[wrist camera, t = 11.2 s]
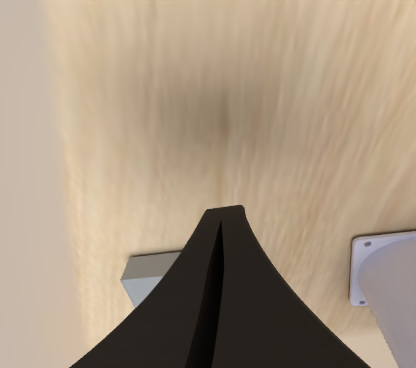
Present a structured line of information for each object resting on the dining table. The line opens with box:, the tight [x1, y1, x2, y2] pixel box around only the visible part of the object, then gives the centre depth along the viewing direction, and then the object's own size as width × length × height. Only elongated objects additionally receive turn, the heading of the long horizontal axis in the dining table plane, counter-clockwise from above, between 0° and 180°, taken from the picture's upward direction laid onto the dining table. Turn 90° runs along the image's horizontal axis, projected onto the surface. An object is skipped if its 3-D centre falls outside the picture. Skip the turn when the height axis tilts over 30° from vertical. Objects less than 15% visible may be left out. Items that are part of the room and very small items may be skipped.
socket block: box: [120, 252, 181, 308], centre depth 25 cm, size 11×11×2 cm
